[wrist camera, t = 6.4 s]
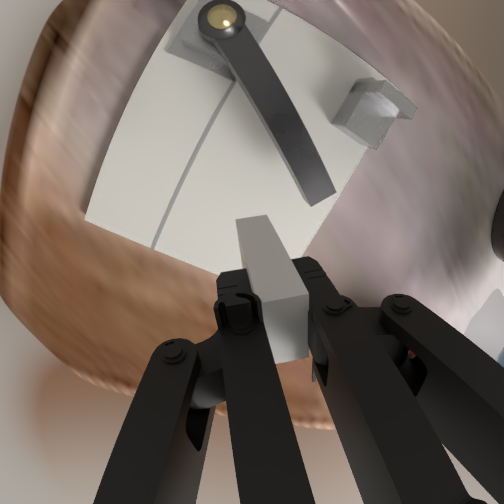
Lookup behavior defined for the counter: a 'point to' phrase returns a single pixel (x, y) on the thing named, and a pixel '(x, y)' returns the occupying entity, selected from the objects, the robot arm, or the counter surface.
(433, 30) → the counter surface
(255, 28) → the grey latch pivot mount
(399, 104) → the keeper
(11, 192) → the counter surface
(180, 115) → the door board
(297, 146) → the latch bar
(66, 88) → the counter surface
